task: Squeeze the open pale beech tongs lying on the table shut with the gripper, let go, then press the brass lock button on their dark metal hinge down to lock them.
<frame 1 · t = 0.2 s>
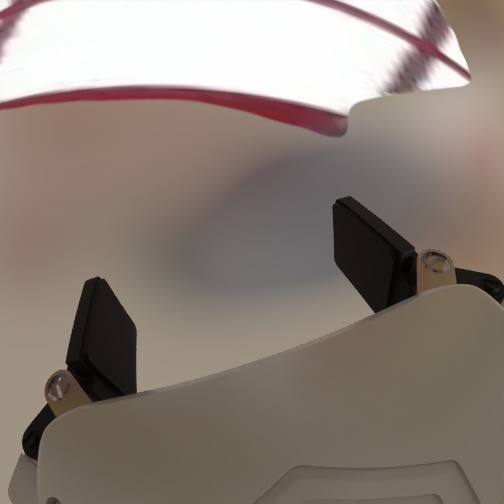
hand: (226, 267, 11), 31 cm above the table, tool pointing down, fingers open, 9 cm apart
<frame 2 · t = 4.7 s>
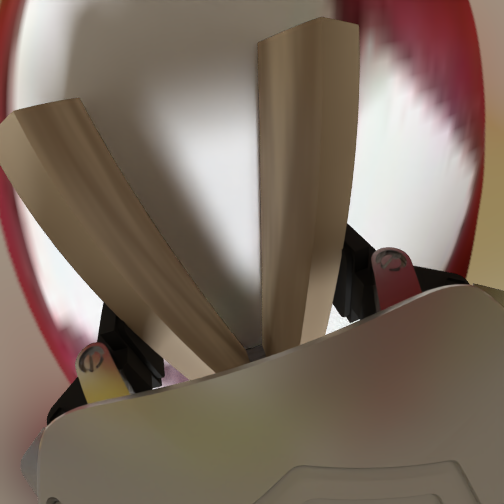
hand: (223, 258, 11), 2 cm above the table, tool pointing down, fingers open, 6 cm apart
tong arm 1: (291, 261, 11), point 3 cm above the table, hinge at -9.8°, touching gripper
tong arm 2: (170, 300, 11), point 3 cm above the table, hinge at 10.3°, touching gripper
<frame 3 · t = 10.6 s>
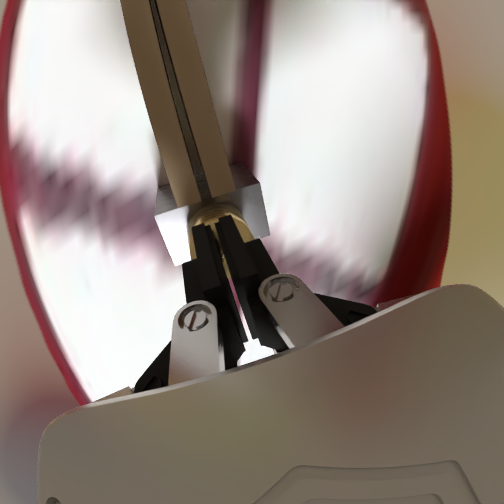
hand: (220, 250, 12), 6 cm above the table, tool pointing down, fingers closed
tong arm 1: (171, 18, 9), point 3 cm above the table, hinge at 0.9°
tong hinge: (205, 196, 17), on the table
tong arm 2: (143, 27, 9), point 3 cm above the table, hinge at -0.4°
lock button: (219, 240, 13), point 5 cm above the table, slide at 0.9 cm, touching gripper
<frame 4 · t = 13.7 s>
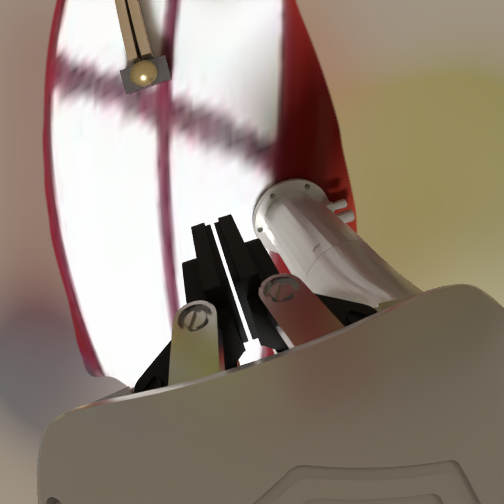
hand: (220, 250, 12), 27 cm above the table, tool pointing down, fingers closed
tong arm 1: (133, 0, 19), point 3 cm above the table, hinge at 0.9°
tong hinge: (148, 75, 28), on the table
tong arm 2: (122, 3, 19), point 3 cm above the table, hinge at -0.4°
lock button: (143, 73, 23), point 5 cm above the table, slide at 1.0 cm, touching tong hinge
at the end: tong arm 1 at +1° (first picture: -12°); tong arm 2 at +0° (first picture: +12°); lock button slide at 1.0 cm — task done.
